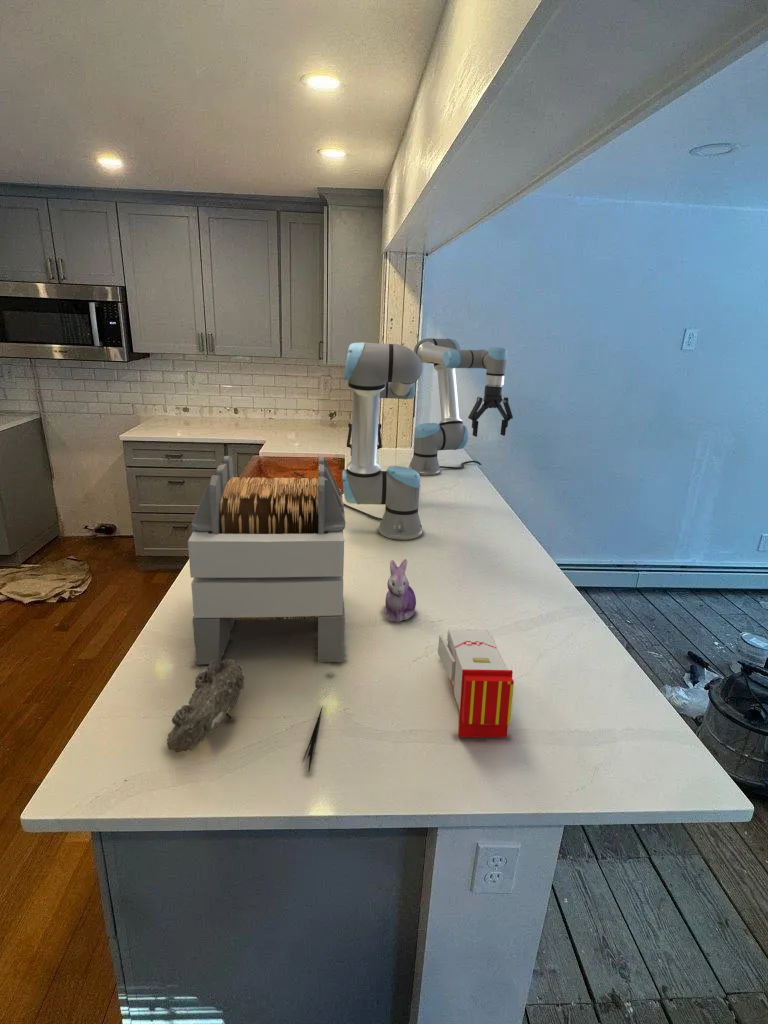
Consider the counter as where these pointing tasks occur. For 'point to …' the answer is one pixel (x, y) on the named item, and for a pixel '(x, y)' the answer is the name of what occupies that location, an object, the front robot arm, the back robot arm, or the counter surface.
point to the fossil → (206, 705)
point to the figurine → (399, 594)
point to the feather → (313, 740)
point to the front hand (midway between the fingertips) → (363, 464)
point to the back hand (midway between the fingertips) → (488, 435)
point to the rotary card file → (267, 557)
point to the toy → (478, 682)
